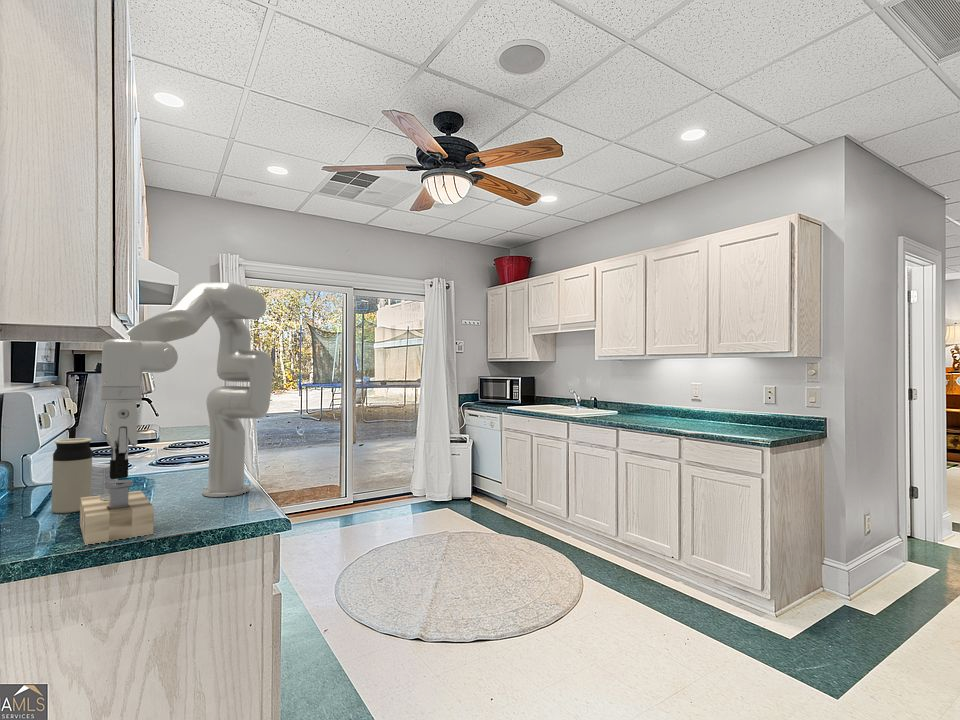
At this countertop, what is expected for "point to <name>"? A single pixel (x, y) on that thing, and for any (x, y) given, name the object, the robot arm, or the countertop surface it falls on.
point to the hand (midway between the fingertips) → (118, 477)
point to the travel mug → (71, 474)
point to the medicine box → (100, 479)
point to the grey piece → (118, 493)
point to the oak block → (115, 519)
